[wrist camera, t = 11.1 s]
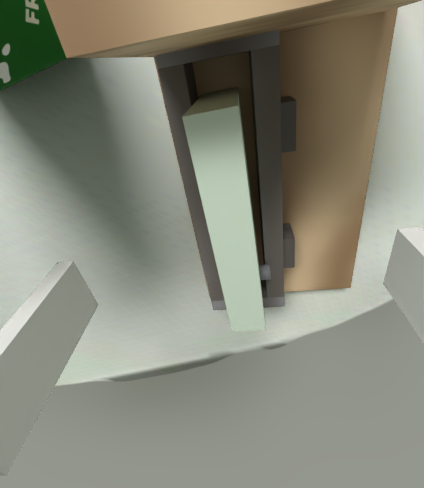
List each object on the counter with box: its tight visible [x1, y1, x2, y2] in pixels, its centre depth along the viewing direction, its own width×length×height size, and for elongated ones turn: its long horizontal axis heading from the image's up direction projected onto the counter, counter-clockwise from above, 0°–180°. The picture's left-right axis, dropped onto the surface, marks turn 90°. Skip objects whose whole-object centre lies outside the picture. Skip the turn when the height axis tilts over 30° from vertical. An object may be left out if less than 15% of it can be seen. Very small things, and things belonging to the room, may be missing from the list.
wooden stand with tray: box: [44, 0, 421, 310], centre depth 14 cm, size 12×20×11 cm, turn 9°
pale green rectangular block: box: [182, 87, 271, 332], centre depth 15 cm, size 3×12×7 cm, turn 11°
